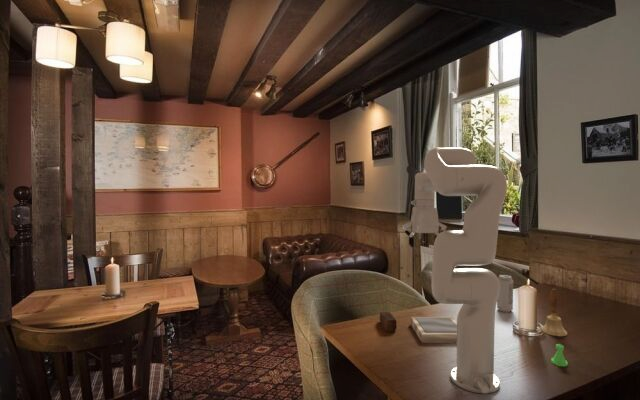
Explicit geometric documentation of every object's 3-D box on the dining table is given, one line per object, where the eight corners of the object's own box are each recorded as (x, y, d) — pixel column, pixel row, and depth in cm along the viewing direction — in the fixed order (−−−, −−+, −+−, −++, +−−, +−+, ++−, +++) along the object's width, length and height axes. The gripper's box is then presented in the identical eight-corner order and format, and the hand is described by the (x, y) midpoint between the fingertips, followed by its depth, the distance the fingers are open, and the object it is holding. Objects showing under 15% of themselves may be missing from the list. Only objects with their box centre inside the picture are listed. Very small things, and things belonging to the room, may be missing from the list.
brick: (396, 332, 133) (396, 320, 133) (386, 332, 133) (386, 320, 133) (389, 321, 144) (389, 310, 144) (379, 322, 143) (379, 310, 143)
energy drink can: (499, 307, 159) (500, 273, 158) (514, 310, 155) (515, 276, 154) (494, 310, 155) (495, 276, 154) (510, 314, 151) (510, 278, 150)
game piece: (549, 363, 110) (549, 343, 110) (552, 358, 113) (553, 339, 113) (565, 368, 107) (566, 348, 107) (569, 363, 110) (569, 343, 110)
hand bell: (538, 332, 133) (539, 289, 132) (543, 325, 139) (544, 284, 138) (565, 338, 127) (566, 294, 126) (569, 331, 133) (570, 288, 132)
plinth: (468, 342, 124) (468, 333, 124) (422, 342, 124) (422, 333, 124) (451, 324, 140) (452, 316, 140) (410, 324, 140) (410, 316, 140)
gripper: (404, 204, 139) (404, 248, 140) (449, 204, 138) (449, 248, 139) (400, 203, 146) (400, 245, 147) (443, 203, 146) (442, 245, 147)
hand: (424, 246), depth 143 cm, fingers open, 9 cm apart
